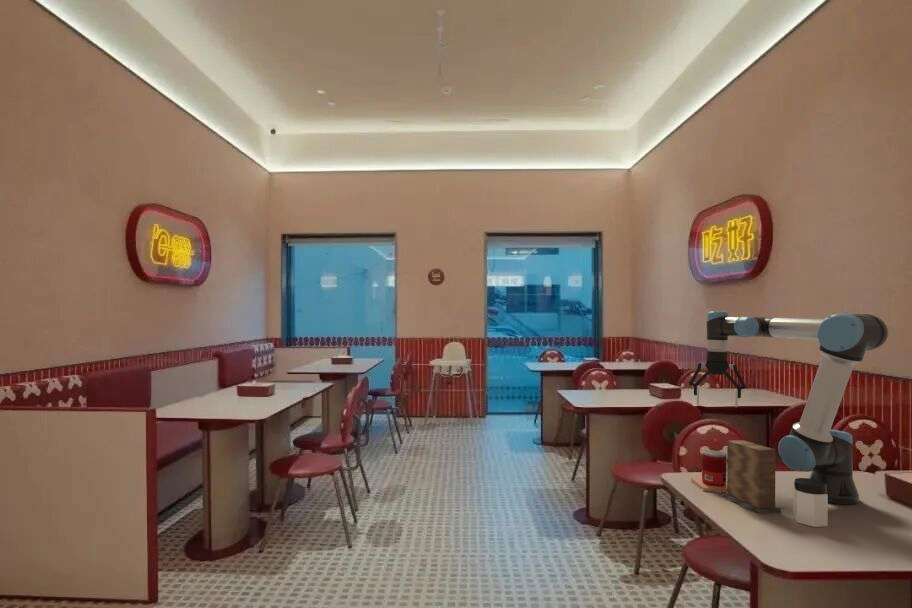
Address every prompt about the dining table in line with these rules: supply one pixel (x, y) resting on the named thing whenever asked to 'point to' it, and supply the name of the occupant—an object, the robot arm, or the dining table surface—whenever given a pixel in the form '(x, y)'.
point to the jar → (810, 502)
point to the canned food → (714, 468)
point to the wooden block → (751, 476)
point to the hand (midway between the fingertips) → (716, 405)
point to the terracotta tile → (706, 487)
